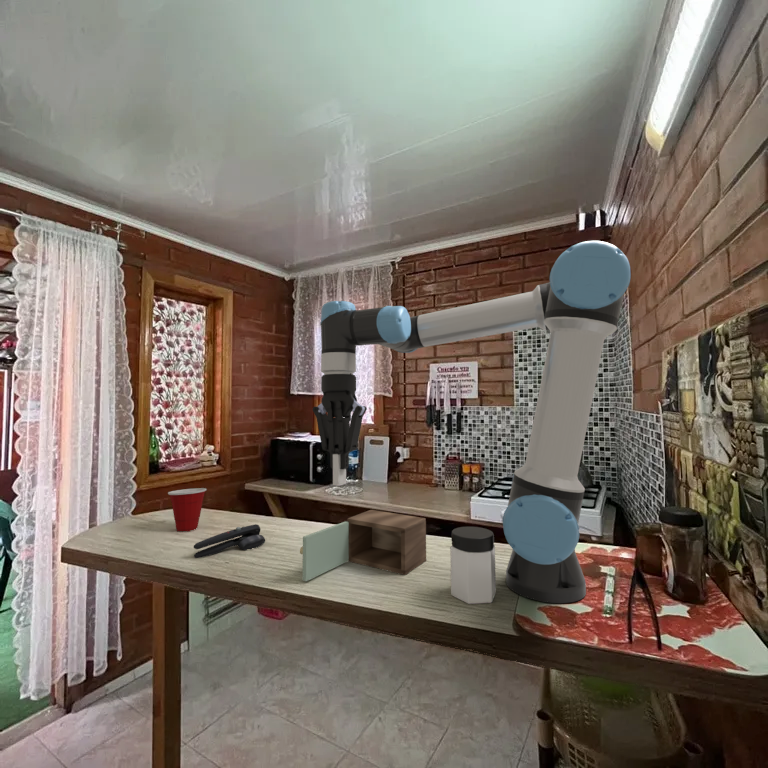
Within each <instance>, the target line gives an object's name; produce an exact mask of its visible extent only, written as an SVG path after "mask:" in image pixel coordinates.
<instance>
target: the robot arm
mask: <svg viewBox="0 0 768 768" xmlns="http://www.w3.org/2000/svg"><path fill="white" fill-rule="evenodd" d="M631 275H632V274H631V265H630V262H629V259H628V257H627V255H625V254H624V252H623V251H622V250H621V249H620V248H619V247H617V246H616V245H614V244H612V243H609V242H606V241H603V240H602V241H601V240H587V241H586V240H585V241H582V242H581V241H580V242H579V243H578V242H577V243H576V244H574V245H571V246H570V247H568V248H567V249H566V250H565V251H563V252H562V253H561V254H560V255H559V256H558V258H557V259H556V260H555V262H554V264H553V266H552V267H551V270H550V273H549V282H546V283H543V284H542V283H541V284H538V285H536V287H535V288H534V289H533V290H532V291H527V292H523V293H518V294H514V295H509V296H503V297H499V298H494V299H490V300H485V301H480V302H476V303H475V302H474V303H472V304H471V303H470V304H467V305H460V306H457V307H451V308H447V309H442V310H438V311H432V312H429V313H424V314H419V315H416V316H415V315H414V316H410V314H409V312H408V310H407V308H406V307H404V306H403V305H395V306H394V305H386V306H382V307H374V308H367V309H359V310H358V309H356V306H355V304H354V303H352V302H351V301H345V300H331V301H328V302H326V303H324V304H323V305H322V307H321V314H320V316H321V317H320V318H321V319H320V323H319V325H320V336H321V338H320V341H321V354H320V372H321V373H322V374H323V375H321V377H320V378H321V379H320V384H321V385H320V386H321V387H320V390H321V392H322V398H321V402H320V404H318V406H313V407H312V412H313V414H314V416H315V419H316V423H317V428H318V433H319V438H320V444H321V448H322V451H327V452H328V453H329V455H330V456H329V457H330V459H329V460H330V461H329V462H330V463H329V464H330V469H332V486H336V487H338V486H343V485H346V484H347V470H348V468H349V466H350V464H349V463H350V461H349V459H350V458H349V455H350V453H352V452H354V451H356V450H357V449H358V444H359V439H360V434H361V433H360V432H361V427H362V422H363V418H364V415H365V414H366V412H367V410H368V409H367V406H366V405H362V404H360V403H359V402H358V398H357V396H356V391H357V375H355V374H354V373H356V372H357V357H356V356H357V346H359V347H361V346H369V345H370V346H372V345H380V346H382V347H385V348H389V349H391V350H394V351H396V352H398V353H402V354H403V353H404V354H410V353H413V352H415V351H417V350H418V349H422V348H426V347H433V346H438V345H442V344H449V343H454V342H455V343H456V342H461V341H466V340H472V339H478V338H482V337H488V336H496V335H501V334H505V333H513V332H517V331H523V330H528V329H529V330H530V329H534V328H540V329H541V330H542V331H549V332H550V334H549V340H548V345H547V351H546V354H545V355H546V356H545V360H544V366H543V370H542V375H541V381H540V385H539V393H538V396H537V401H536V406H535V407H536V408H535V412H534V415H533V416H534V417H533V422H532V427H531V432H530V437H529V443H528V447H527V452H526V459H525V463H524V464H523V465H522V466H521V467H519V468H517V469H516V470H514V472H513V475H512V480H511V481H512V482H511V488H510V493H509V497H508V498H509V499H508V504H507V507H506V509H505V511H504V512H503V517H502V526H503V527H502V528H503V533H504V536H505V539H506V541H507V543H508V545H509V546H510V547H511V549H512V551H511V553H510V557H509V559H508V563H507V566H506V571H505V577H506V578H505V579H506V580H505V581H506V585H507V587H508V588H509V589H510V590H511V591H513V592H514V593H516V594H518V595H519V596H521V597H523V598H527V599H530V600H533V601H538V602H543V603H549V604H550V603H551V604H568V603H574V602H578V601H580V600H582V599H584V598H585V597H586V594H587V585H586V578H585V576H584V574H583V569H582V566H581V564H580V561H579V559H578V556H577V554H576V547H577V546H578V543H579V539H580V531H579V530H580V527H579V522H580V521H579V520H580V515H581V511H582V505H583V500H584V496H585V490H586V489H585V487H584V485H583V483H581V481H580V480H579V477H578V473H579V470H580V465H581V459H582V455H583V449H584V443H585V439H586V433H587V430H588V429H587V428H588V423H589V418H590V414H591V408H592V404H593V397H594V394H595V389H596V383H597V379H598V372H599V368H600V364H601V363H600V362H601V359H602V352H603V348H604V343H605V339H607V337H608V336H610V335H612V334H613V333H615V332H616V331H617V328H618V324H619V320H620V314H621V311H622V310H621V309H622V303H623V299H624V295H625V293H626V291H627V290H628V288H629V287H630V282H631V277H632V276H631ZM351 414H352V415H351Z"/></svg>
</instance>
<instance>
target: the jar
mask: <svg viewBox="0 0 768 768" xmlns="http://www.w3.org/2000/svg"><path fill="white" fill-rule="evenodd" d="M494 536H495V535H494V532H493V531H492V530H490V529H487V528H483V527H480V526H460V527H456V528H454V529H453V530H451V539H450V540H451V546H450V593H451V595H450V596H453V597H454V598H456V599H458V600H460V601H462V602H463V603H466V604H468V605H472V604H473V605H476V604H490V603H493V600H494V598H495V595H496V594H497V592H496V591H497V588H496V587H497V586H496V585H497V581H496V579H497V578H496V576H497V575H496V546H495V537H494Z"/></svg>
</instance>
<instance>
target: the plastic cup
mask: <svg viewBox="0 0 768 768" xmlns="http://www.w3.org/2000/svg"><path fill="white" fill-rule="evenodd" d="M207 490H208V489H207V488H206V487H205V488H204V487H201V488H199V487H198V488H197V487H196V488H186V489H177V490H172V491H168V492H167V494H168V495H169V497H170V498H169V499H170V502H171V507H172V512H173V518H174V523H175V530H176V532H178V531H187V532H191V531H190V530H193V531H195V530H197V529H198V527H199V523H200V517H201V512H202V507H203V501H204V497H205V493H206V491H207ZM196 528H197V529H196ZM194 529H195V530H194Z"/></svg>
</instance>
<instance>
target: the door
mask: <svg viewBox="0 0 768 768" xmlns="http://www.w3.org/2000/svg"><path fill="white" fill-rule="evenodd" d="M299 553H300V555H302V581H303V582H307V581H310V580H312V579H314V578H317V577H318V576H320V575H322V574H324V573H326V572H329V571H330V570H332V569H334V568H337V567H338V566H340V565H343V564H345V563H347V562H350V561H349V522H347V520H345V521H342V522H341V523H336V524H334V525H332V526H328V527H325V528H323V529H320V530H318V531H315V532H312V533H309V534H306V535H304V536H302V546H301V547H300V549H299Z"/></svg>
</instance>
